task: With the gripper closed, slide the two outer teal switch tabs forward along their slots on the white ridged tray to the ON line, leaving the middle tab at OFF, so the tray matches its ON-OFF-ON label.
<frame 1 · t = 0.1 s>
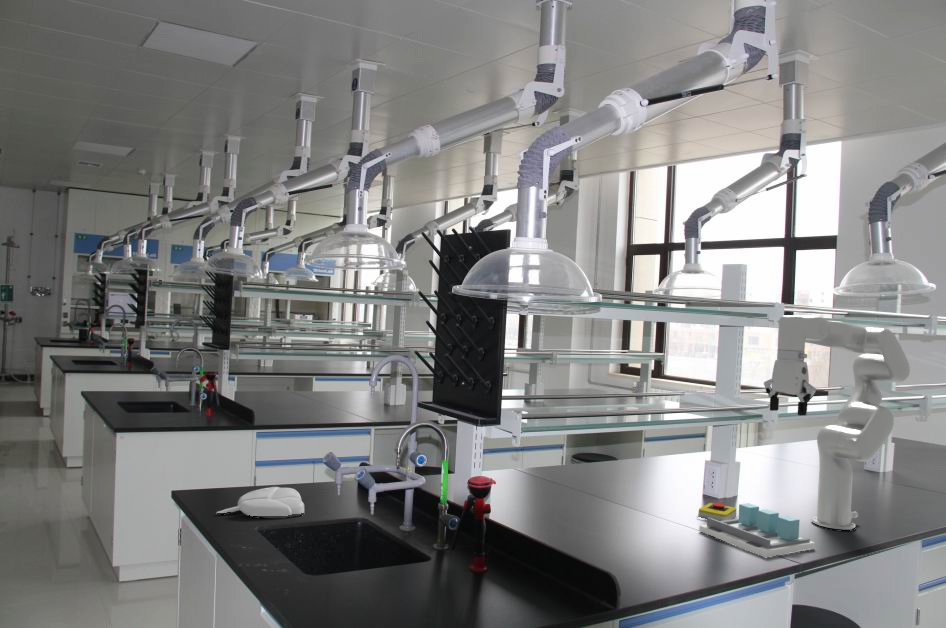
hand: (787, 412, 217), 37 cm above the counter, tool pointing down, fingers open, 9 cm apart
tab 1: (748, 514, 218), point 5 cm above the counter, slide at 0.0 cm
white ridged tray: (755, 540, 209), on the counter
tab 3: (788, 527, 205), point 5 cm above the counter, slide at 0.0 cm
emergency button: (716, 519, 232), on the counter
tab 2: (767, 521, 211), point 5 cm above the counter, slide at 0.0 cm
white computer mouse: (260, 514, 215), on the counter
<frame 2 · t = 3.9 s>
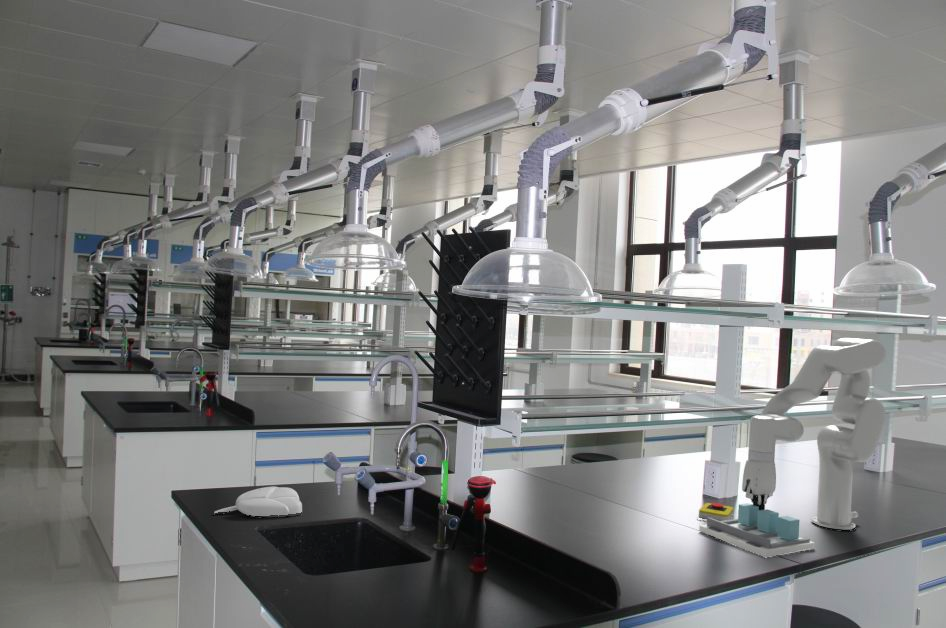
hand: (758, 516, 220), 4 cm above the counter, tool pointing down, fingers closed
tab 1: (748, 514, 218), point 5 cm above the counter, slide at 0.2 cm, touching gripper
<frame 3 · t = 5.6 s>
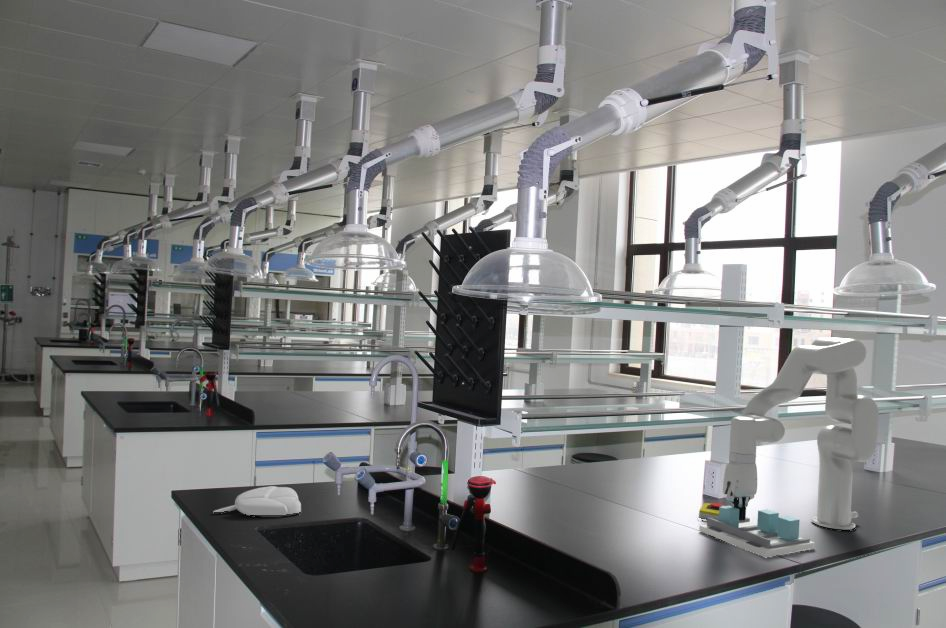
hand: (739, 519, 216), 4 cm above the counter, tool pointing down, fingers closed
tab 1: (728, 517, 214), point 5 cm above the counter, slide at 8.4 cm, touching gripper
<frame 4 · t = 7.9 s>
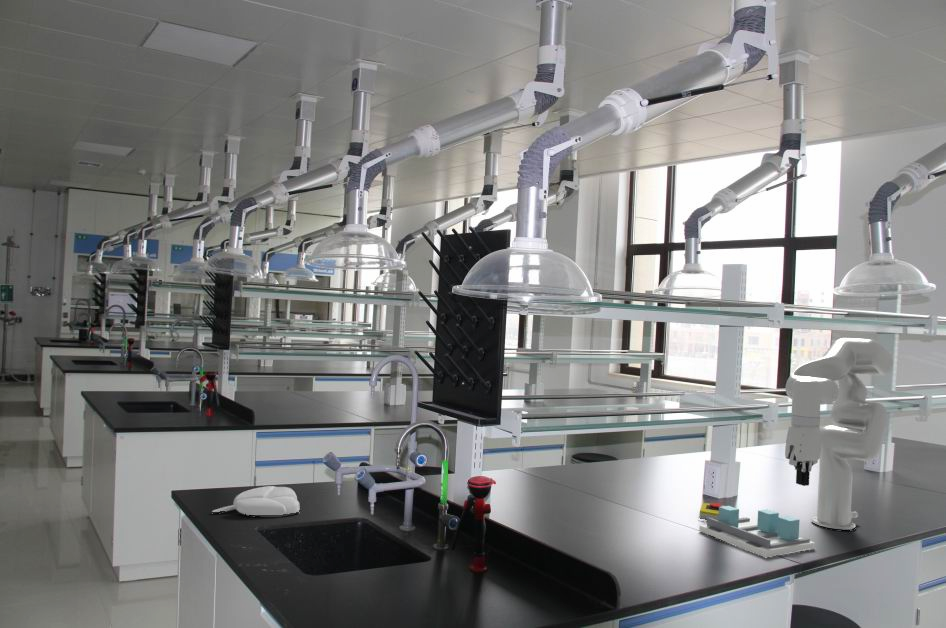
hand: (802, 484, 209), 17 cm above the counter, tool pointing down, fingers closed
tab 1: (728, 517, 214), point 5 cm above the counter, slide at 8.6 cm
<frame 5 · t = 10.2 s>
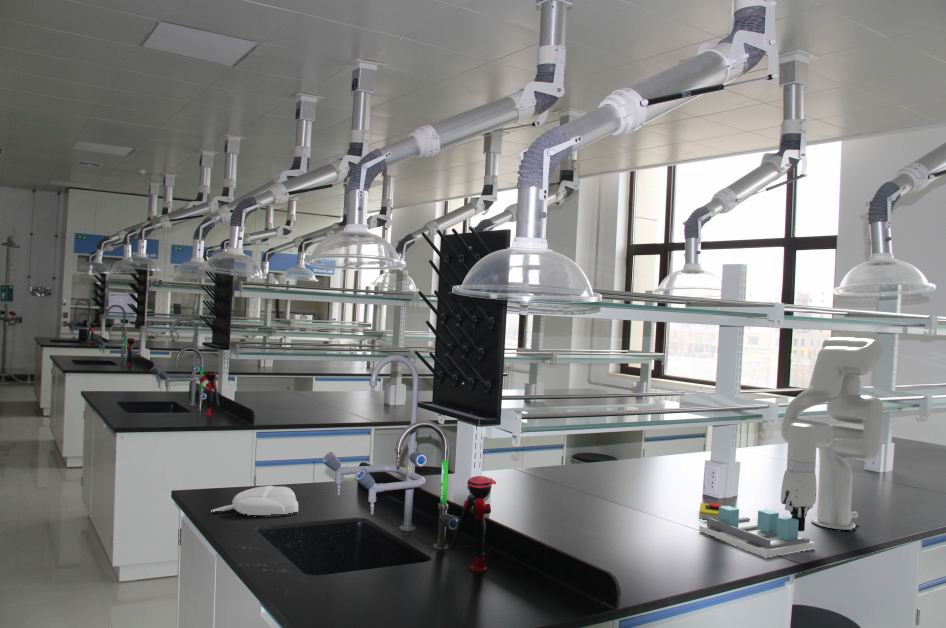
hand: (797, 529, 207), 4 cm above the counter, tool pointing down, fingers closed
tab 3: (787, 528, 205), point 5 cm above the counter, slide at 0.4 cm, touching gripper
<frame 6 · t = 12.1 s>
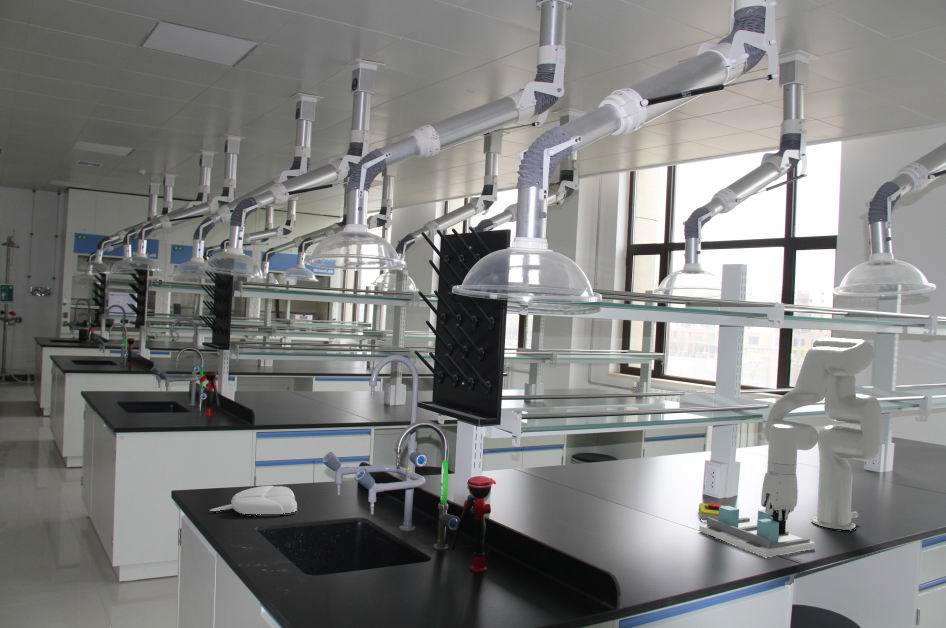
hand: (778, 533, 203), 4 cm above the counter, tool pointing down, fingers closed
tab 3: (767, 531, 201), point 5 cm above the counter, slide at 8.6 cm, touching gripper
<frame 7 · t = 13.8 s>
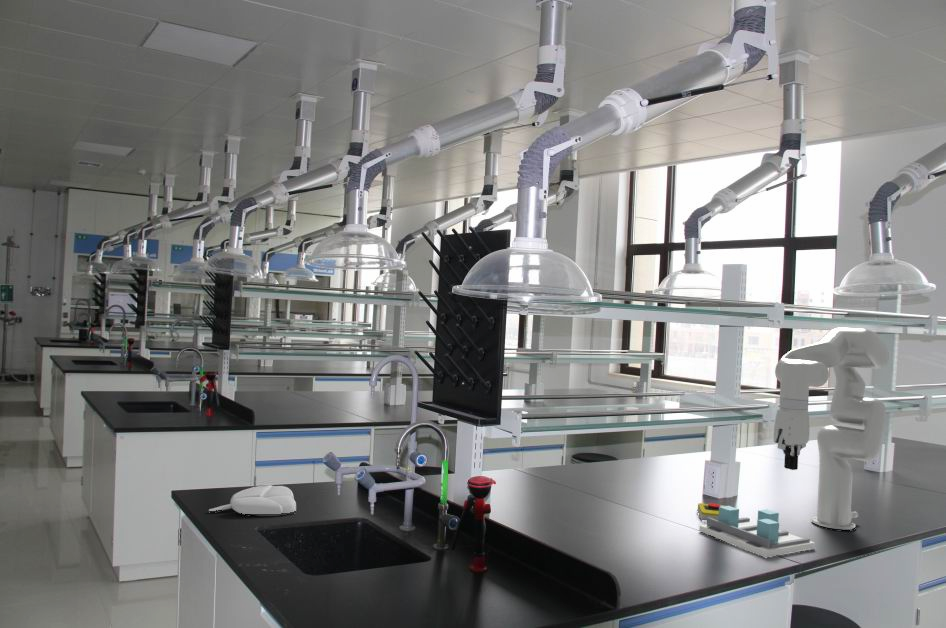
hand: (790, 468, 206), 22 cm above the counter, tool pointing down, fingers closed
tab 3: (767, 531, 201), point 5 cm above the counter, slide at 8.6 cm
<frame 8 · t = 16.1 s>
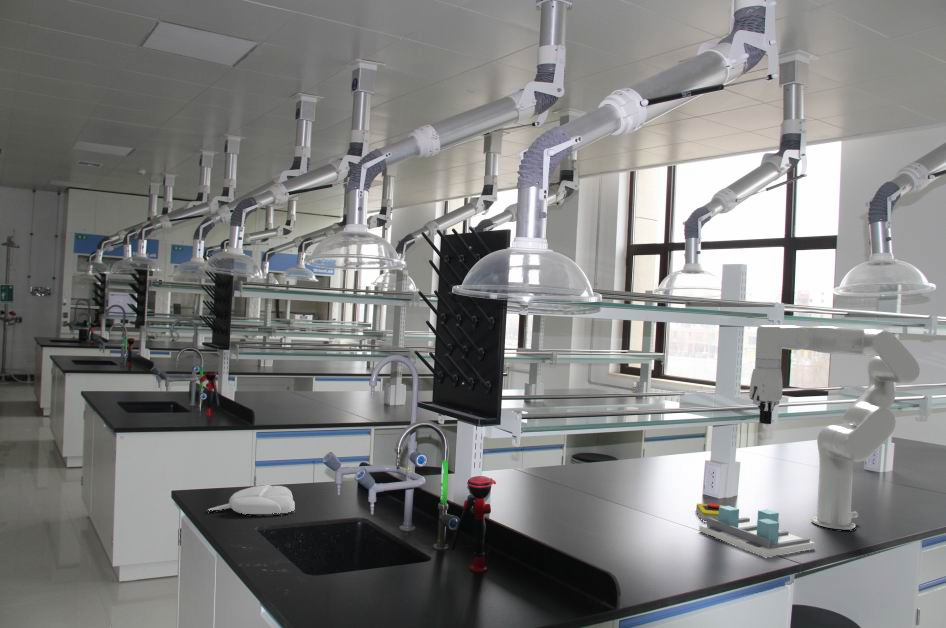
hand: (765, 423, 224), 32 cm above the counter, tool pointing down, fingers closed
at the end: tab 1 slide at 8.6 cm; tab 3 slide at 8.6 cm; tab 2 slide at 0.0 cm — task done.
